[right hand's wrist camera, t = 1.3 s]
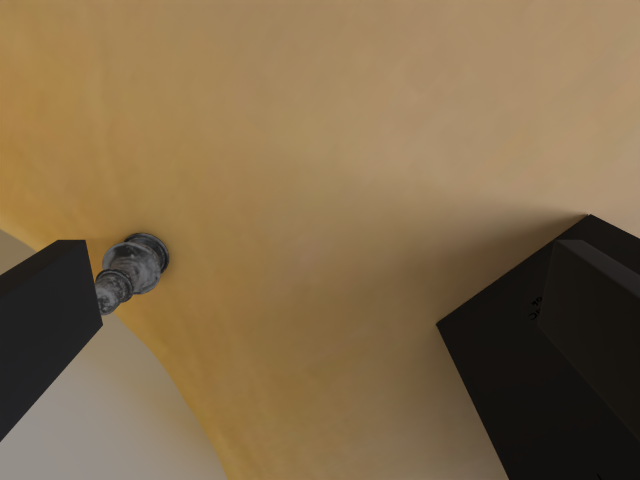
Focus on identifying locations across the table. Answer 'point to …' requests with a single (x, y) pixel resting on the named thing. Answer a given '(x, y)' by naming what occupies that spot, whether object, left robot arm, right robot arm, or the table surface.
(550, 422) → the cardboard box
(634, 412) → the right robot arm
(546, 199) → the table surface
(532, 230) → the table surface
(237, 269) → the table surface
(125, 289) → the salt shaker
